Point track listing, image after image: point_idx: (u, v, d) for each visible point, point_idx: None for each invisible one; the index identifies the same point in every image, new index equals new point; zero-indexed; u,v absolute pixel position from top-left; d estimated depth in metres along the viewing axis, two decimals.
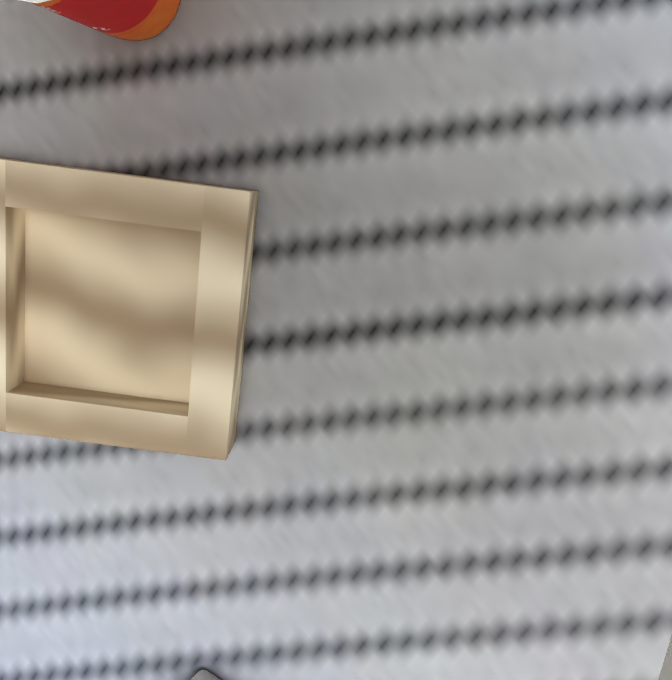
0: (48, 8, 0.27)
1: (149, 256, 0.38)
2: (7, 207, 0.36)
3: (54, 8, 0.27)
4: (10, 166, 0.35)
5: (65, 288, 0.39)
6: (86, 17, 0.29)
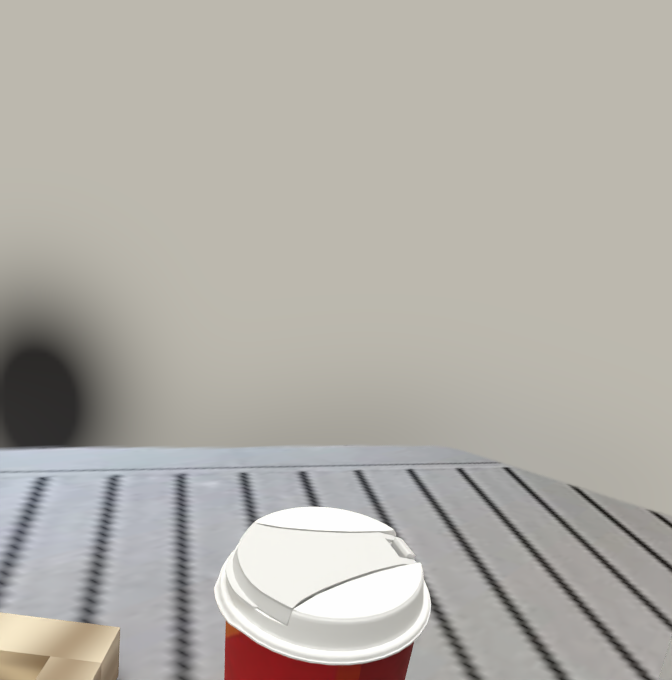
0: None
1: None
2: (49, 659, 0.31)
3: None
4: (92, 666, 0.31)
5: None
6: None
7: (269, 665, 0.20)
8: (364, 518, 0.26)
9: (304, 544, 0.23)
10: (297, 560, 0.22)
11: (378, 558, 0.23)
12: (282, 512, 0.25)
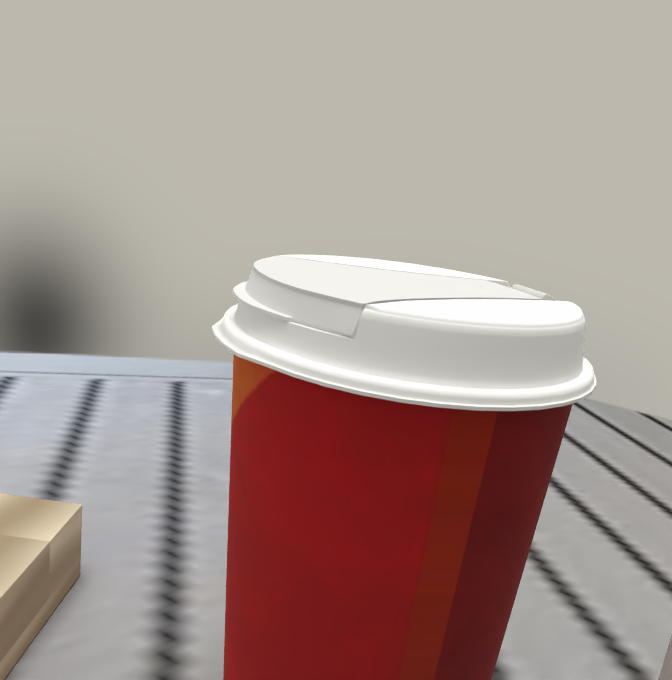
0: None
1: None
2: None
3: None
4: (36, 544, 0.21)
5: None
6: (227, 558, 0.14)
7: (315, 429, 0.11)
8: (456, 272, 0.16)
9: (368, 273, 0.14)
10: (360, 279, 0.13)
11: (497, 292, 0.13)
12: (325, 256, 0.16)
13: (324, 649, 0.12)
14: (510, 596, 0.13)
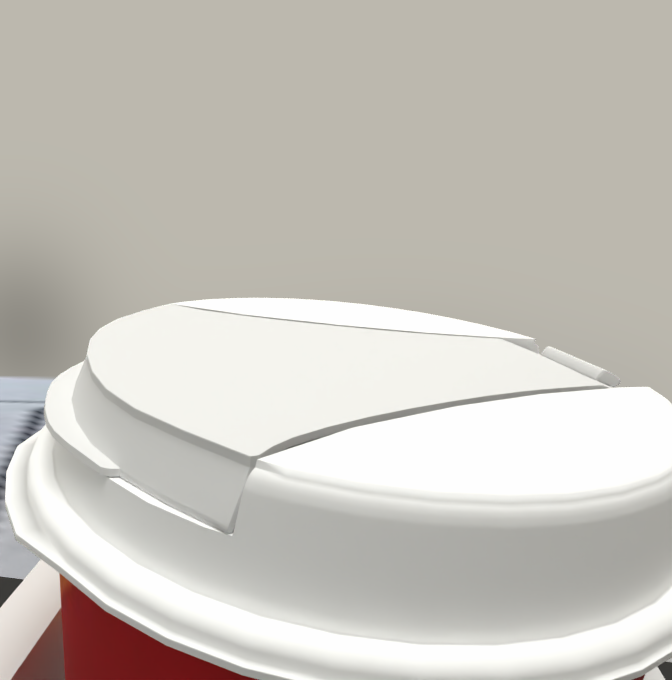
0: None
1: None
2: None
3: None
4: None
5: None
6: None
7: None
8: (454, 321, 0.10)
9: (305, 338, 0.08)
10: (283, 360, 0.07)
11: (525, 372, 0.08)
12: (250, 300, 0.10)
13: None
14: None
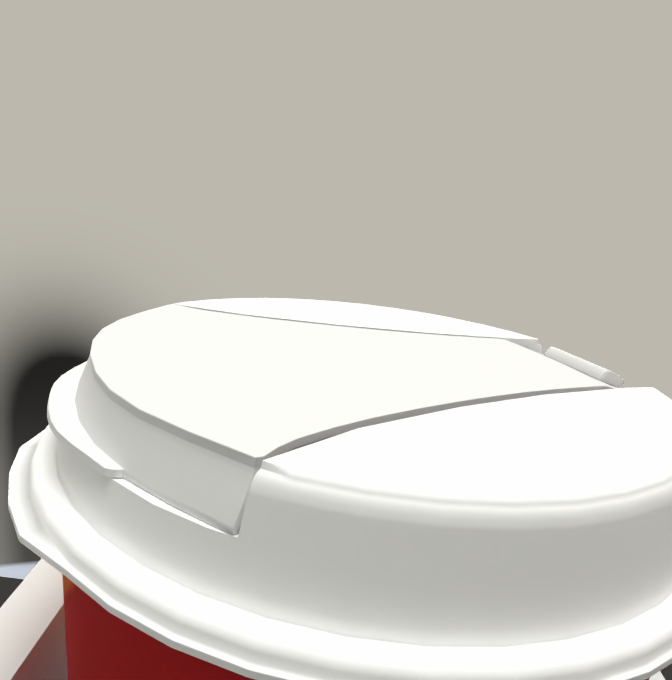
0: None
1: None
2: None
3: None
4: None
5: None
6: None
7: None
8: (456, 321, 0.10)
9: (308, 339, 0.08)
10: (287, 361, 0.07)
11: (529, 373, 0.08)
12: (252, 300, 0.10)
13: None
14: None
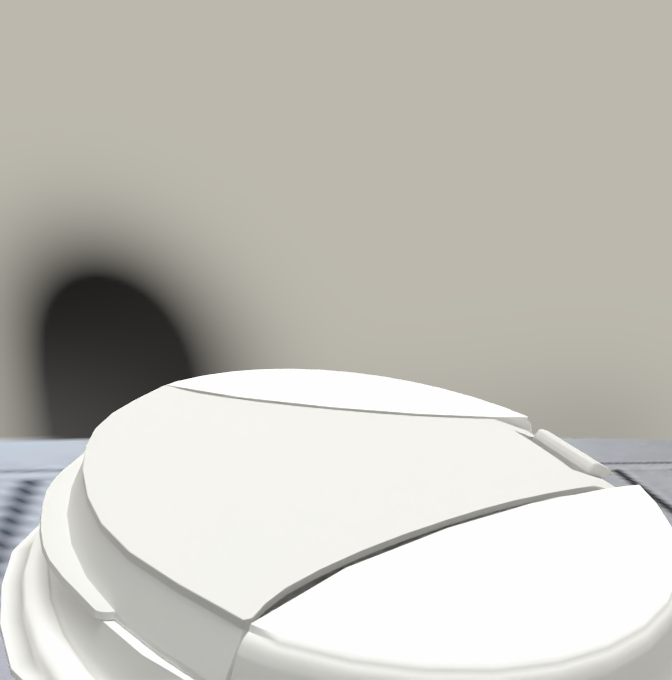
0: None
1: None
2: None
3: None
4: None
5: None
6: None
7: None
8: (447, 394, 0.10)
9: (300, 432, 0.08)
10: (278, 467, 0.07)
11: (517, 470, 0.08)
12: (245, 373, 0.10)
13: None
14: None
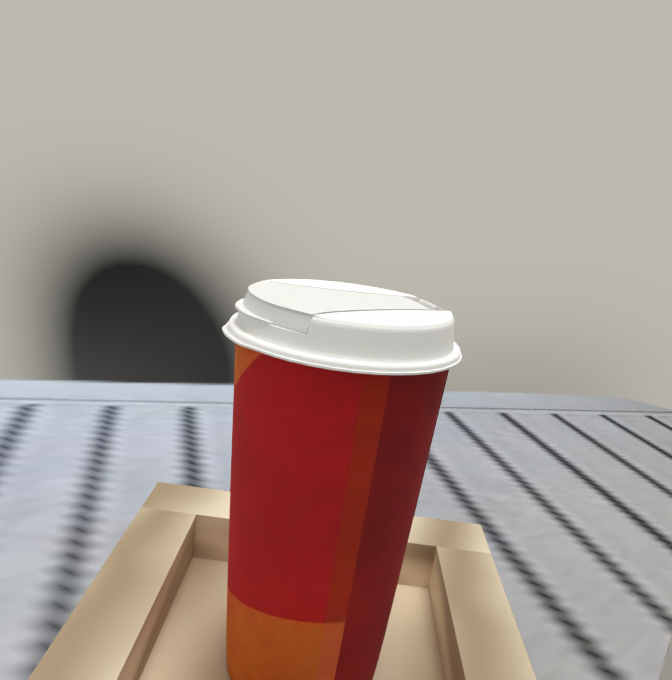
0: None
1: None
2: (434, 549, 0.29)
3: None
4: (485, 556, 0.29)
5: None
6: None
7: (285, 387, 0.18)
8: (385, 290, 0.23)
9: (321, 292, 0.21)
10: (315, 298, 0.20)
11: (403, 305, 0.21)
12: (295, 279, 0.23)
13: (292, 523, 0.19)
14: (409, 495, 0.20)
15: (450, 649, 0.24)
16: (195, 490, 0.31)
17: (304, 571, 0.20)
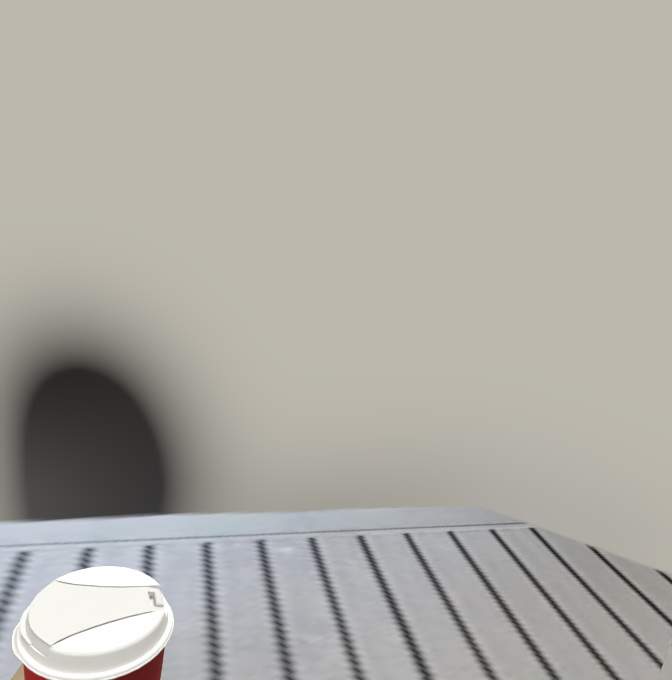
0: None
1: None
2: None
3: None
4: None
5: None
6: None
7: None
8: (141, 575, 0.36)
9: (83, 597, 0.33)
10: (72, 610, 0.32)
11: (133, 607, 0.33)
12: (80, 571, 0.35)
13: None
14: None
15: None
16: None
17: None
